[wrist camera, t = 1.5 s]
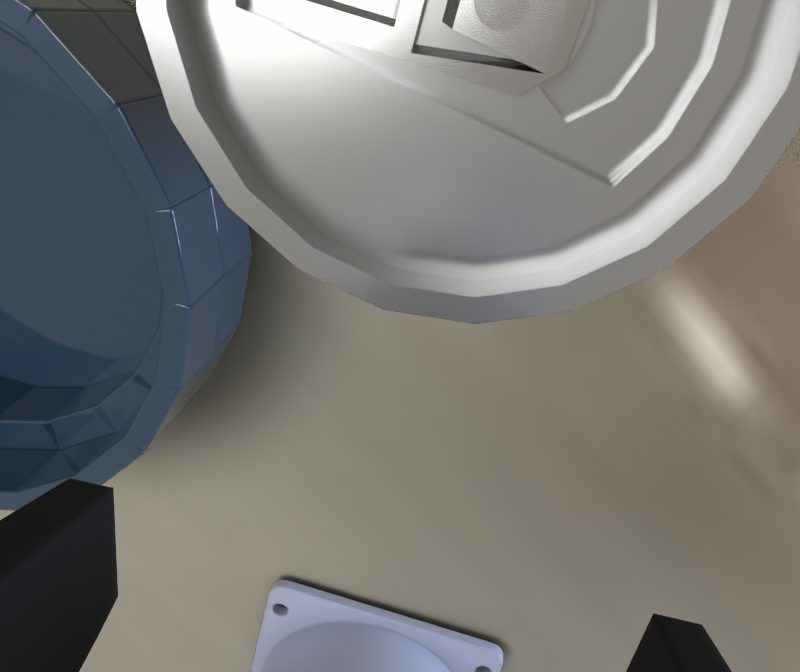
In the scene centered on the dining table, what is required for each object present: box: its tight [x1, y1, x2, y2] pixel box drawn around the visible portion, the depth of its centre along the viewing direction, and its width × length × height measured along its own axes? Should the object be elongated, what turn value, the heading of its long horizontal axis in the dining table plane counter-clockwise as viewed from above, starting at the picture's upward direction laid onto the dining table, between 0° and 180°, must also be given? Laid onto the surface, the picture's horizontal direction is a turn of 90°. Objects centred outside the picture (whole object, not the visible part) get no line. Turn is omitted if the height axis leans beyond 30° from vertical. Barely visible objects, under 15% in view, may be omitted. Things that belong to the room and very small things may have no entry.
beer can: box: [136, 0, 800, 324], centre depth 10 cm, size 5×5×12 cm
